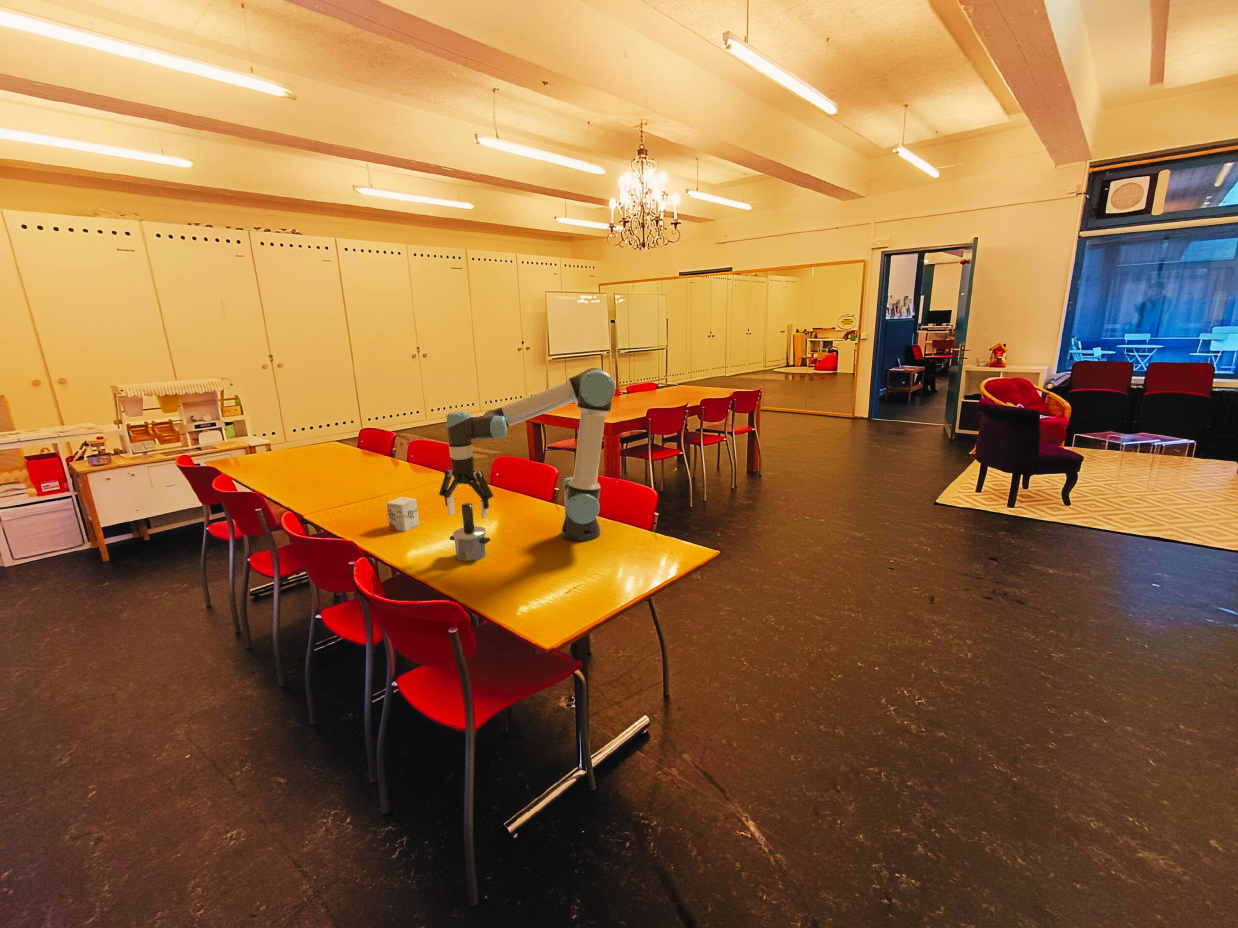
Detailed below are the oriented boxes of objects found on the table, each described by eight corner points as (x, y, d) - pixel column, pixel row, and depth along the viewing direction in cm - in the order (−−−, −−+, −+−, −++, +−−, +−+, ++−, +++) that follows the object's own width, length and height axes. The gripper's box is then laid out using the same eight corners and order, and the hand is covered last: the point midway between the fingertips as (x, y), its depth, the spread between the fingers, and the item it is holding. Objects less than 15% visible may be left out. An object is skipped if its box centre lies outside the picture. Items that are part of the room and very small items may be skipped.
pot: (496, 552, 194) (494, 531, 193) (481, 563, 185) (479, 541, 183) (462, 548, 199) (460, 528, 197) (445, 559, 190) (443, 537, 188)
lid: (491, 530, 194) (488, 501, 191) (474, 541, 183) (471, 510, 181) (465, 528, 197) (462, 499, 194) (447, 538, 187) (443, 508, 184)
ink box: (388, 529, 222) (385, 502, 219) (404, 522, 229) (400, 496, 227) (405, 531, 218) (401, 504, 216) (420, 524, 226) (416, 498, 223)
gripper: (499, 456, 183) (504, 515, 188) (438, 453, 191) (444, 510, 196) (487, 461, 176) (493, 522, 181) (424, 458, 184) (431, 516, 189)
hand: (468, 516), depth 189 cm, fingers open, 13 cm apart
